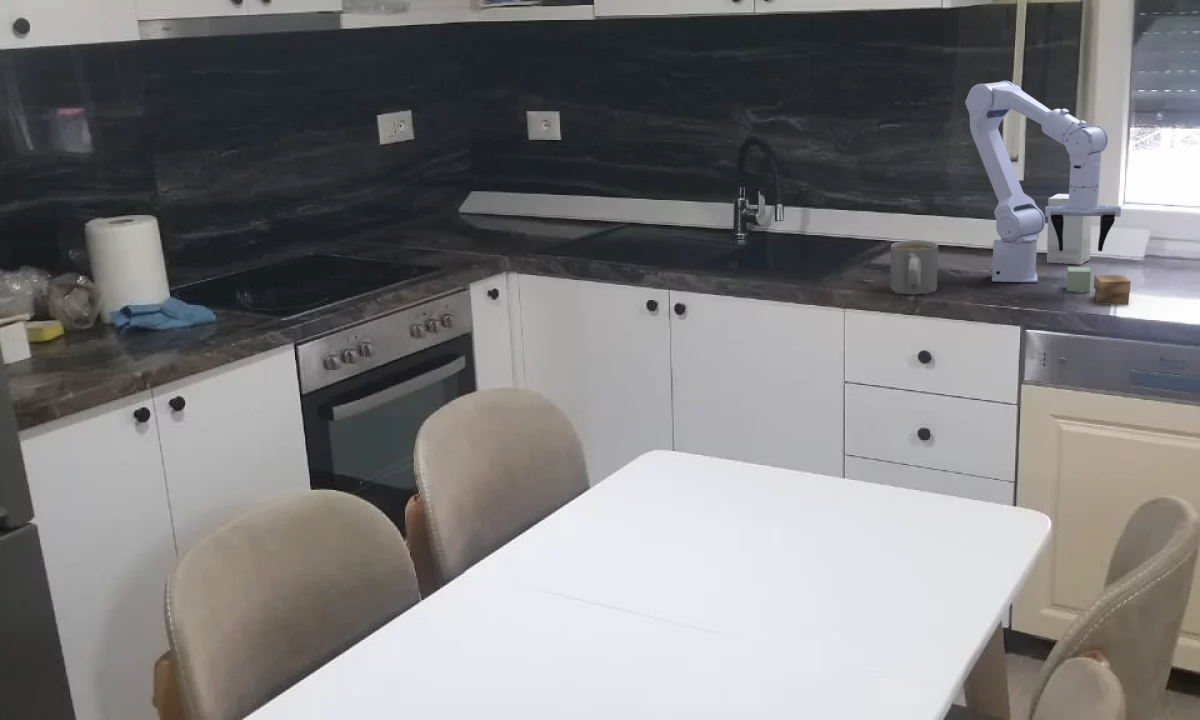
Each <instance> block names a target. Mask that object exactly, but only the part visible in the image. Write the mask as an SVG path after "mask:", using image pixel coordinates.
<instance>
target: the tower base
mask: <svg viewBox="0 0 1200 720" xmlns="http://www.w3.org/2000/svg"><path fill="white" fill-rule="evenodd" d="M1094 299H1096V300H1095V304H1096V303H1110V304H1109V305H1129V304H1130V293H1126V294H1100V293H1099V292H1098V291H1097V290H1096V289H1095V288H1094Z"/></svg>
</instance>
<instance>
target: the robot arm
mask: <svg viewBox="0 0 1200 720" xmlns="http://www.w3.org/2000/svg"><path fill="white" fill-rule="evenodd" d="M964 103H965V106H966V108H967V112H968V114H969V128H970V133H971V136H972V139H973V140H974V143H975V145H976V148H977V151H978V153H979V156H980V158H981V162H982V164H983V166H984V168H985V171H986V173H987V176H988V178H989V181H990V184H991V186H992V188H993V191H994V194H995V196H996V198H997V200H998V201H997V202H998V204H997V206H996V208H995V209H994V211H993V214H994V216H995V217H994V218H995V221H996V223H995V229H996V232H997V235H999V237H1000V239H993V247H992V250H993V251H992V263H991V265H990V273H991V282H993V283H995V282H996V283H997V282H998V283H999V282H1001V283H1038V272H1036V271H1037V269H1036V268H1037V250H1038V249H1037V248H1038V239H1039V237H1040V235H1039V234H1040V233H1041V232H1043V230H1044V229H1045V225H1046V218H1048V217H1051V221H1052V224H1053V226H1054V229H1055V231H1056V234H1057V238H1058V242H1059V251H1063V225H1064V220H1063V219H1064V218H1063V216H1091V217H1100V221H1099V237H1098V243H1097V245H1098V246H1097V251H1098V252H1103V249H1104V244H1105V241H1106V239H1107V236H1108V234H1109V232H1110V230H1111V228H1112V226H1113V225H1114V223H1115V221H1116V219H1115V217H1116V218H1121V213H1122V212H1121V211H1122V207H1121V205H1102V204H1101V205H1100V204H1099V192H1100V191H1099V190H1100V175H1101V163H1102V162H1101V161H1102V160H1101V159H1102V158H1101V157H1102V152H1103V151H1104V150H1105V149H1106V147H1107V146H1108V143H1109V140H1108V139H1109V138H1108V135H1107V132H1106V131H1105V130H1104V129H1103V128H1102V127H1101V126H1100V125H1097V124H1096V125H1090V126H1088V122H1087V121H1085V120H1083V119H1082V120H1080V119H1078V118H1077V117H1075V116H1073V115H1071V114H1069V113H1070V110H1068V109H1067V108H1062V109H1061V108H1055V109H1052V110H1051V109H1049V108H1048V107H1046V106H1045V105H1044V104H1043V103H1041V102H1040V101H1038V100H1036V99H1035V98H1034V97H1032V96H1031V95H1029V94H1028V93H1026V92H1025V91H1023V90H1022V88H1021V87H1020V85H1018V84H1017V85H1016V84H1014V83H1012V82H1011V81H1008V80H1001V81H999V82H990V83H978V84H975V85H973V86H972V87H971V89H970V90H969V92H968V95H967V97H966V99H965V102H964ZM1011 110H1013V111H1014V112H1017V113H1019V114H1021V115H1023V116H1025V117H1026V118H1028V119H1030V120H1033V121H1034V122H1036V123H1038V124H1040V125H1041V131H1042V133H1043V134H1044V135H1046V136H1048V137H1050V138H1051V139H1054V140H1055V141H1056V142H1058V143H1060V144H1061V145H1063V146H1064V147H1065V149H1066V152H1067V153H1068V154H1069V155H1068V156H1069V162H1070V171H1069V188H1068V194H1069V203H1068V205H1065V206H1048V205H1046V206H1045V214H1044V212H1043V211H1042V210H1041V209H1040V208H1039V207H1038V206H1037V204H1036V202H1035V200H1034V199H1033V198H1032V197H1030V196H1029V195H1027V194H1026V193H1024V190H1023V188H1022V185H1021V183H1020V181H1019V177H1018V175H1017V172H1016V171H1015V169H1014V166H1013V163H1012V161H1011V158H1010V155H1009V153H1008V150H1007V149H1006V145H1005V144H1004V143H1005V142H1004V141H1003V138H1002V135H1001V133H1000V131H999V127H1000V124H1001V122H1002V121H1003V119H1004V118H1005V117H1006V116H1007V115H1008V113H1009V112H1010V111H1011ZM1045 217H1046V218H1045Z"/></svg>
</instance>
